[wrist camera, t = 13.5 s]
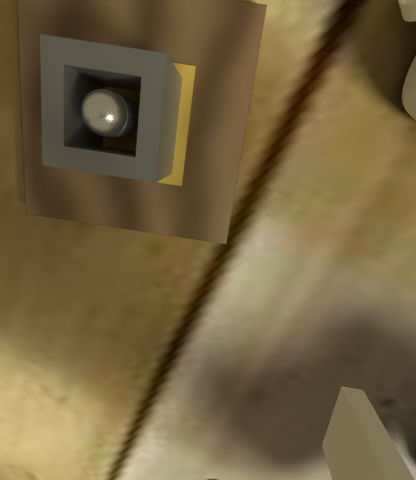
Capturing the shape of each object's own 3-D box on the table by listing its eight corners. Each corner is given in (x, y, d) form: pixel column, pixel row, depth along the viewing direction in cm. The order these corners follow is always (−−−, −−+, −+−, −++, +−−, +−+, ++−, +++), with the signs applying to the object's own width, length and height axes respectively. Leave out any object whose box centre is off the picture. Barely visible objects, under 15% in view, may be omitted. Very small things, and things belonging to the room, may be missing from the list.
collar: (182, 78, 25) (167, 53, 19) (171, 174, 28) (155, 182, 21) (88, 63, 25) (40, 34, 19) (86, 160, 28) (42, 165, 21)
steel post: (150, 105, 26) (120, 88, 19) (148, 141, 27) (118, 138, 20) (116, 100, 26) (72, 81, 19) (115, 136, 27) (72, 132, 20)
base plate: (264, 12, 25) (267, 3, 24) (225, 239, 31) (226, 244, 29) (28, -22, 25) (14, -34, 24) (34, 210, 31) (24, 213, 30)
